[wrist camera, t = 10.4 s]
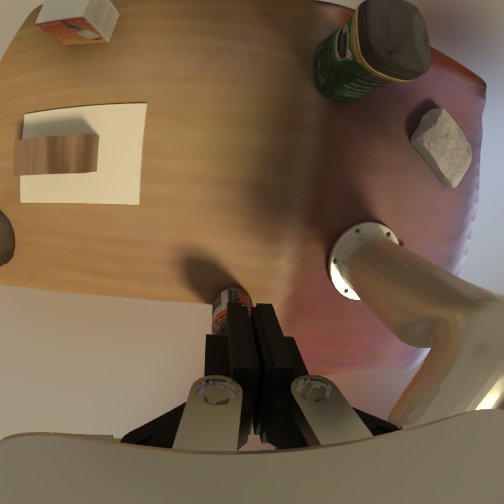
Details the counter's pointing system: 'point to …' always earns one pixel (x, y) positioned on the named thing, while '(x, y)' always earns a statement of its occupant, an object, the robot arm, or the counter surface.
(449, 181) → the stone block
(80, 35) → the small box
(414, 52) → the coffee jar
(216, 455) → the robot arm
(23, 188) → the cream mat
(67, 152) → the walnut block
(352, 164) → the counter surface
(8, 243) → the pillar candle
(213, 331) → the supplement bottle
